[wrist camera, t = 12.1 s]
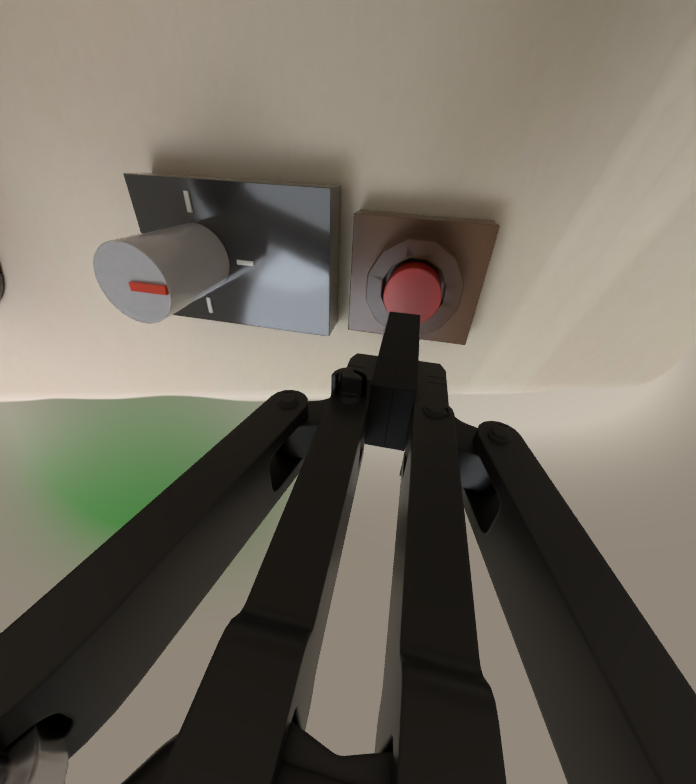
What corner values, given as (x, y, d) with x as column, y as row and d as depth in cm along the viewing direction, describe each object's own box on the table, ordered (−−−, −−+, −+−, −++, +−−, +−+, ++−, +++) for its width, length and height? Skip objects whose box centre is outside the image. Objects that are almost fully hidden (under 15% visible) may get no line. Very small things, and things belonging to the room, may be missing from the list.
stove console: (184, 303, 33) (163, 314, 30) (151, 172, 26) (121, 173, 24) (337, 323, 31) (328, 337, 28) (341, 185, 24) (330, 188, 22)
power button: (383, 312, 25) (380, 321, 24) (389, 258, 23) (386, 265, 22) (434, 318, 25) (435, 328, 23) (446, 264, 22) (447, 271, 21)
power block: (353, 320, 30) (343, 338, 27) (359, 210, 25) (348, 216, 22) (463, 334, 29) (467, 355, 25) (494, 220, 23) (504, 229, 20)
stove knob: (179, 286, 28) (108, 320, 22) (162, 219, 25) (74, 237, 19) (234, 292, 28) (177, 330, 21) (223, 225, 25) (152, 245, 18)
